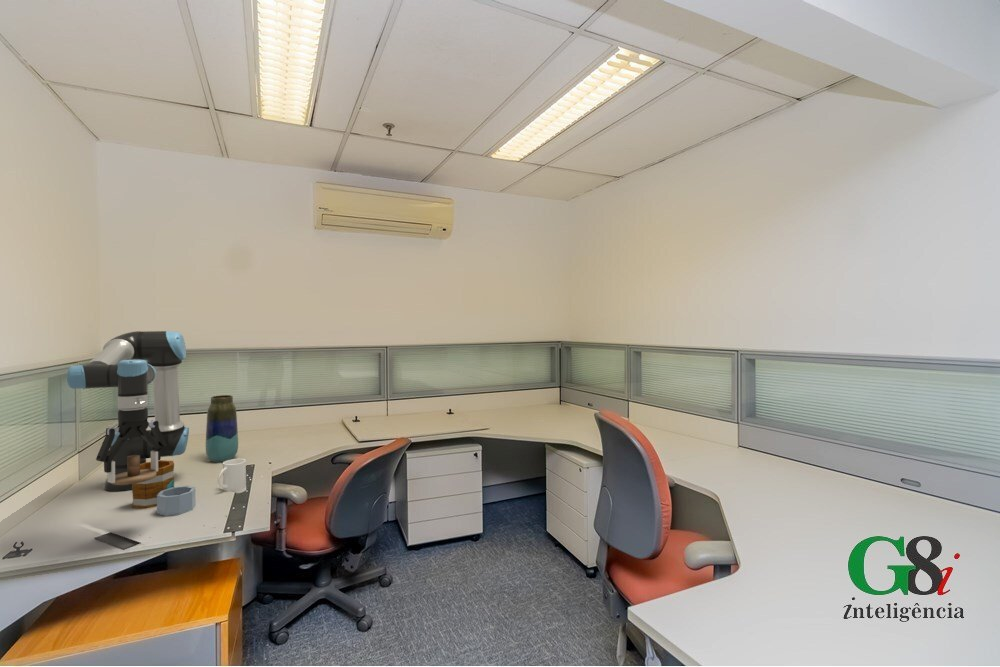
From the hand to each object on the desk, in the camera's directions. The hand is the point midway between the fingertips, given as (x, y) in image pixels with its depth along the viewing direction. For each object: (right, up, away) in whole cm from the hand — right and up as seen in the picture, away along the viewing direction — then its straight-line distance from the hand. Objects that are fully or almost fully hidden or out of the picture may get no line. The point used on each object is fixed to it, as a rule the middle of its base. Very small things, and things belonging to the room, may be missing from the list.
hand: (133, 476), depth 150 cm
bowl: (+2, -18, +17) cm, 25 cm away
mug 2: (+9, -18, +38) cm, 43 cm away
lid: (0, -1, 0) cm, 1 cm away
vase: (-20, -17, +81) cm, 85 cm away
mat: (0, -19, +1) cm, 19 cm away
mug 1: (-12, -18, +27) cm, 35 cm away
